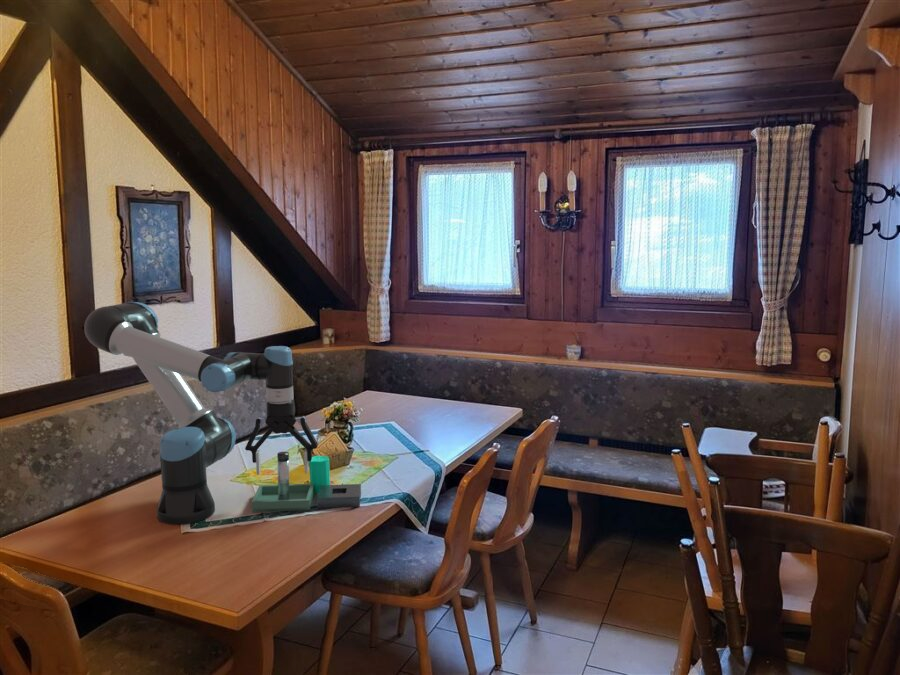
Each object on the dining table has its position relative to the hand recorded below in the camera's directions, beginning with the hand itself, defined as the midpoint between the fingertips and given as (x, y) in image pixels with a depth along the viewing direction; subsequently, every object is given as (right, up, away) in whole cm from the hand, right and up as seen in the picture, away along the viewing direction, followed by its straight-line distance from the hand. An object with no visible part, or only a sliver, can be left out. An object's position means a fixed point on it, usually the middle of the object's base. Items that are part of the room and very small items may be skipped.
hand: (282, 472), depth 208 cm
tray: (0, -9, +1) cm, 9 cm away
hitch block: (+16, -9, +3) cm, 18 cm away
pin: (0, -8, +1) cm, 8 cm away
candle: (+9, -8, +11) cm, 16 cm away
